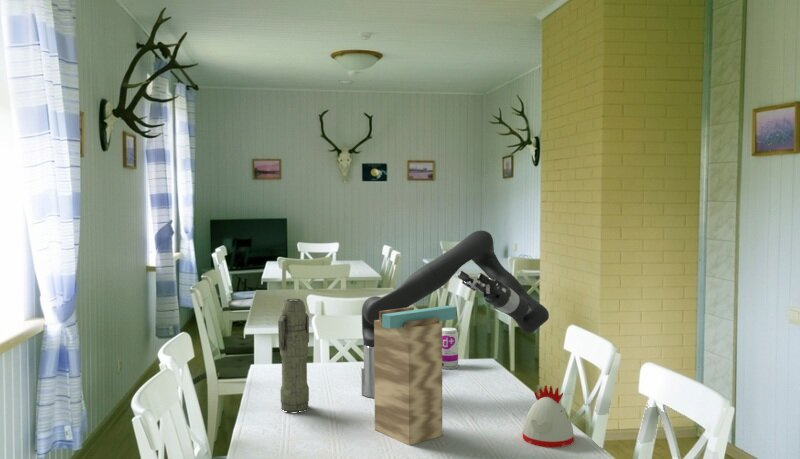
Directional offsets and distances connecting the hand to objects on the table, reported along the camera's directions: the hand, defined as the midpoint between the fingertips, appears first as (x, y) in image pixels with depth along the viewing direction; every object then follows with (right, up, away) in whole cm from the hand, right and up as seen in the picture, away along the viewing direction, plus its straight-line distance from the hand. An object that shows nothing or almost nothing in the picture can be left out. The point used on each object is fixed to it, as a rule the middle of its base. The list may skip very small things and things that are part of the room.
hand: (469, 274), depth 216 cm
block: (-15, -13, -13) cm, 24 cm away
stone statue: (-54, -44, +13) cm, 71 cm away
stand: (-18, -45, -10) cm, 49 cm away
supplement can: (-2, -41, +66) cm, 78 cm away
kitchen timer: (+21, -45, -15) cm, 52 cm away
